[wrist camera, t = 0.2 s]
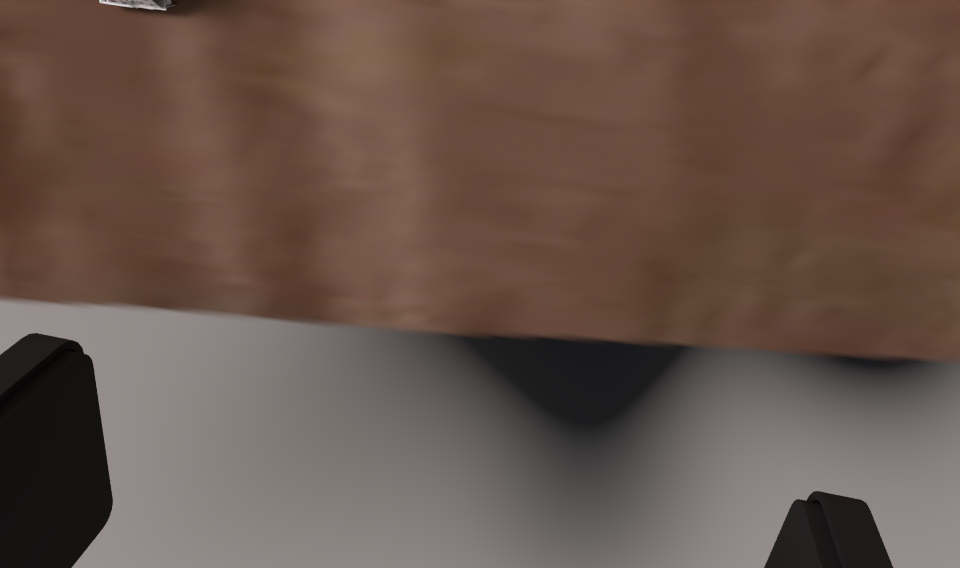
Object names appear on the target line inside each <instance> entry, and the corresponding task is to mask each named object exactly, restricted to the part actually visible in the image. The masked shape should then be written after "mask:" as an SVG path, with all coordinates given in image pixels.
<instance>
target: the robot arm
mask: <svg viewBox="0 0 960 568" xmlns="http://www.w3.org/2000/svg"><path fill="white" fill-rule="evenodd" d="M112 504H113V498H112V491H111V485H110V478H109V471H108V464H107V457H106V450H105V444H104V436H103V430H102V423H101V416H100V409H99V402H98V395H97V388H96V381H95V375H94V368H93V362H92V359H91V358H90V357H89V356H88V355H86V354H84V352H83V349H82V347H81V346H80V345H79V343H78V342H75V341H72V340H67V339H63V338H58V337H53V336H47V335H42V334H38V333H34V334H29V335H27V336H25V337H23V338H22V339H21V340H19V341H18V342H17V343H15V344H14V345H13V346H11V347H10V348H9V349H7V350H6V351H5V352H4V353H2V354H1V355H0V568H72V566H73V565H74V564H75V563H76V561H77V560H78V559H79V558H80V556H81V555H82V554H83V553H84V551H85V550H86V549H87V548H88V546H89V545H90V544H91V543H92V541H93V540H94V539H95V538H96V536H97V535H98V534H99V532H100V531H101V530H102V529H103V527H104V526H105V524H106V523H107V521H108V518H109V516H110V513H111V510H112ZM764 568H893V566H892V564H891V561H890V559H889V556H888V554H887V552H886V549H885V546H884V544H883V541H882V539H881V536H880V534H879V531H878V529H877V526H876V524H875V521H874V519H873V516H872V514H871V511H870V509H869V507H868V505H867V504H866V503H865V502H864V501H862V500H859V499H854V498H849V497H844V496H839V495H834V494H829V493H824V492H819V491H815V492H813V493H812V494H811V495H810V496H809V497H808V499H807V501H805V500H800V499H798V500H795V501H794V502H793V504H792V506H791V508H790V510H789V512H788V514H787V517H786V519H785V521H784V523H783V526H782V528H781V530H780V533H779V535H778V537H777V540H776V542H775V544H774V547H773V549H772V551H771V553H770V556H769V558H768V561H767V563H766V565H765V567H764Z"/></svg>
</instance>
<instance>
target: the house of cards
mask: <svg viewBox="0 0 960 568" xmlns="http://www.w3.org/2000/svg"><path fill="white" fill-rule="evenodd" d="M99 2H100V3H105V4H111V5H118V6H124V7H131V8H134V7H136V9H137V8H146V9H152V10H154V9H159V10H166V7H167V8H168V7H172V6H176V5H173V4H171V0H99Z"/></svg>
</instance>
